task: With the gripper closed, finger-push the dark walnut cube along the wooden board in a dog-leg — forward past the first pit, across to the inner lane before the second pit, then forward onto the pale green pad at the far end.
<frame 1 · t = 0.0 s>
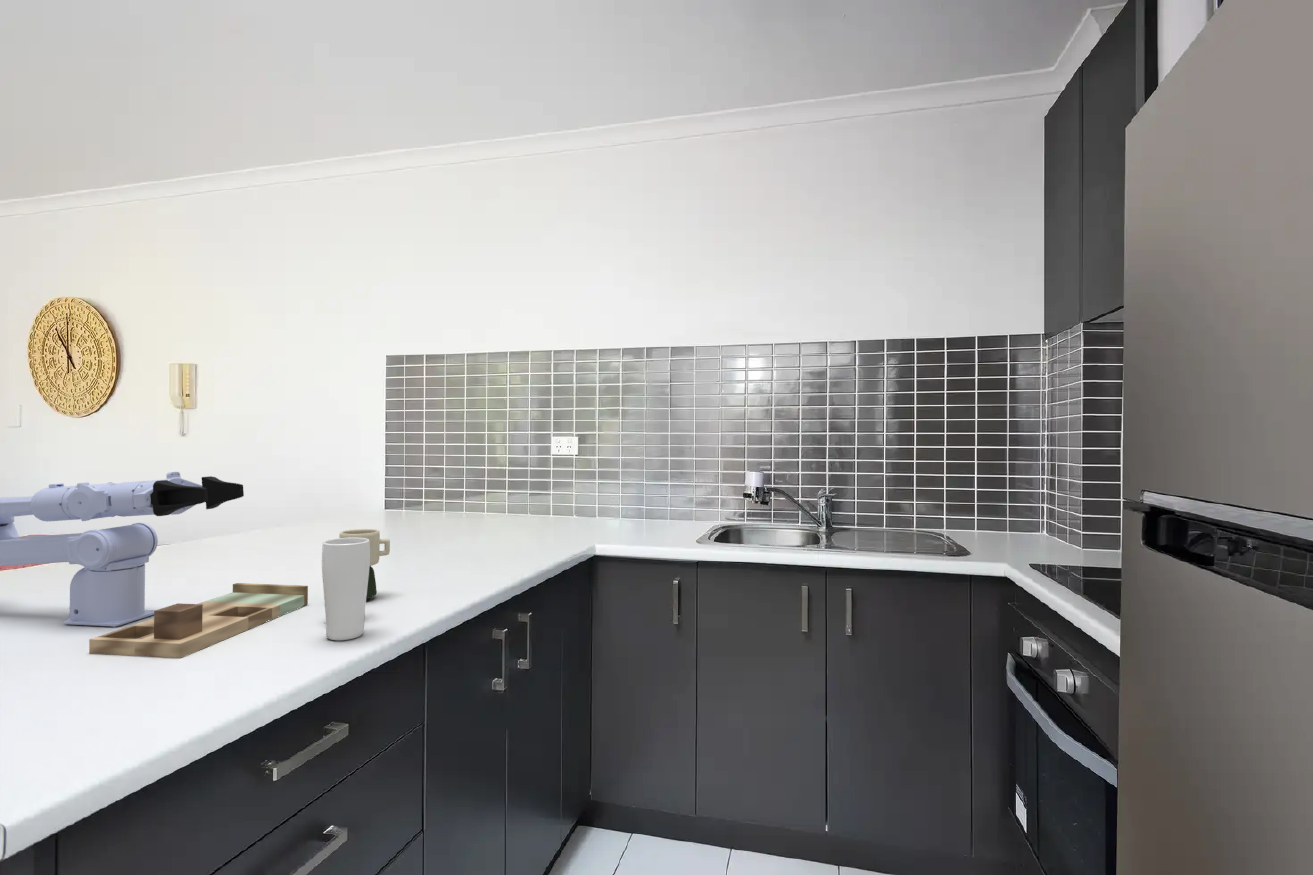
hand: (224, 492, 104), 22 cm above the countertop, tool horizontal, fingers open, 7 cm apart
drinking glass: (345, 637, 99), on the countertop
character mug: (358, 600, 121), on the countertop
wooden board: (212, 625, 104), on the countertop
block: (178, 634, 93), point 2 cm above the countertop, touching wooden board
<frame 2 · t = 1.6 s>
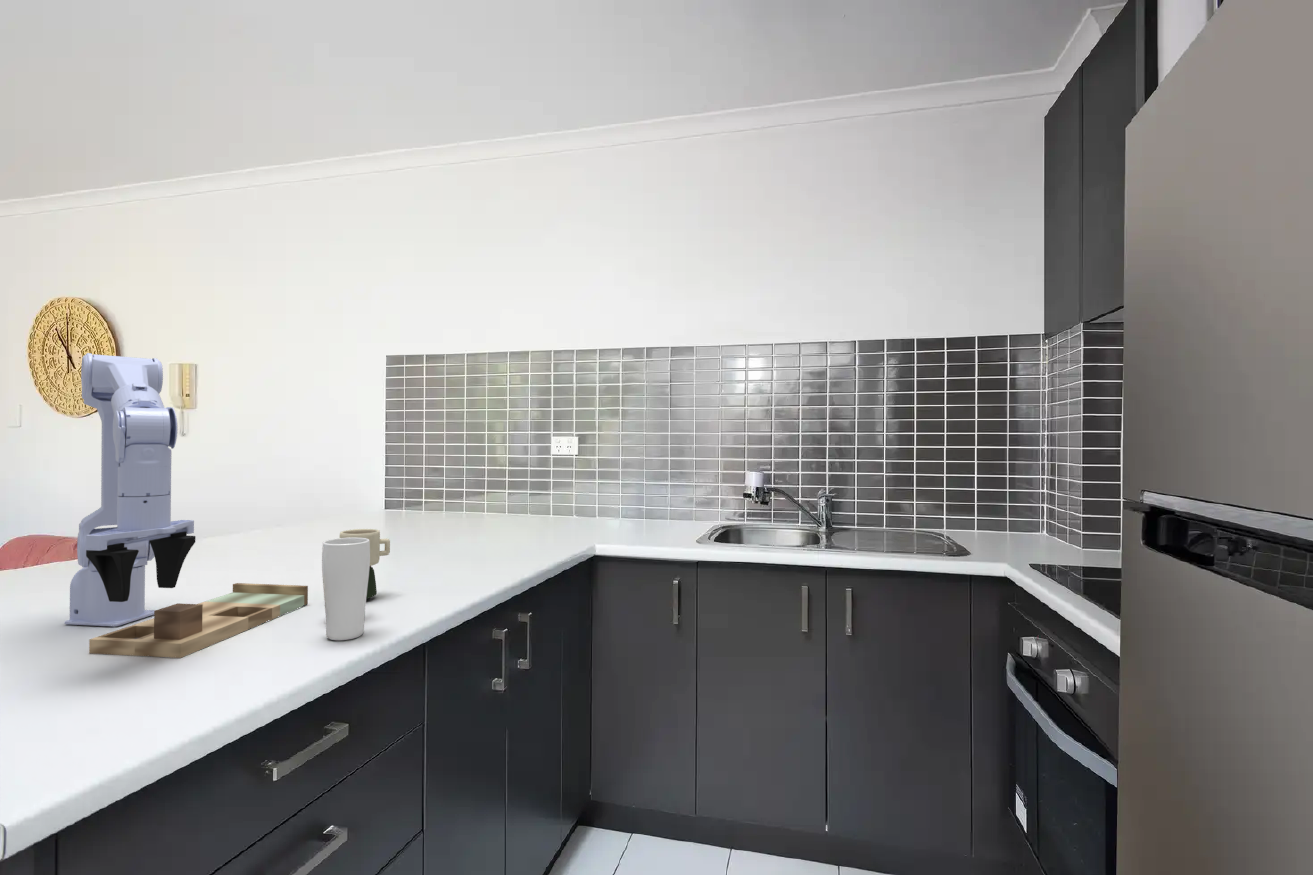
hand: (143, 594, 87), 9 cm above the countertop, tool pointing down, fingers open, 7 cm apart
nothing on the countertop moved.
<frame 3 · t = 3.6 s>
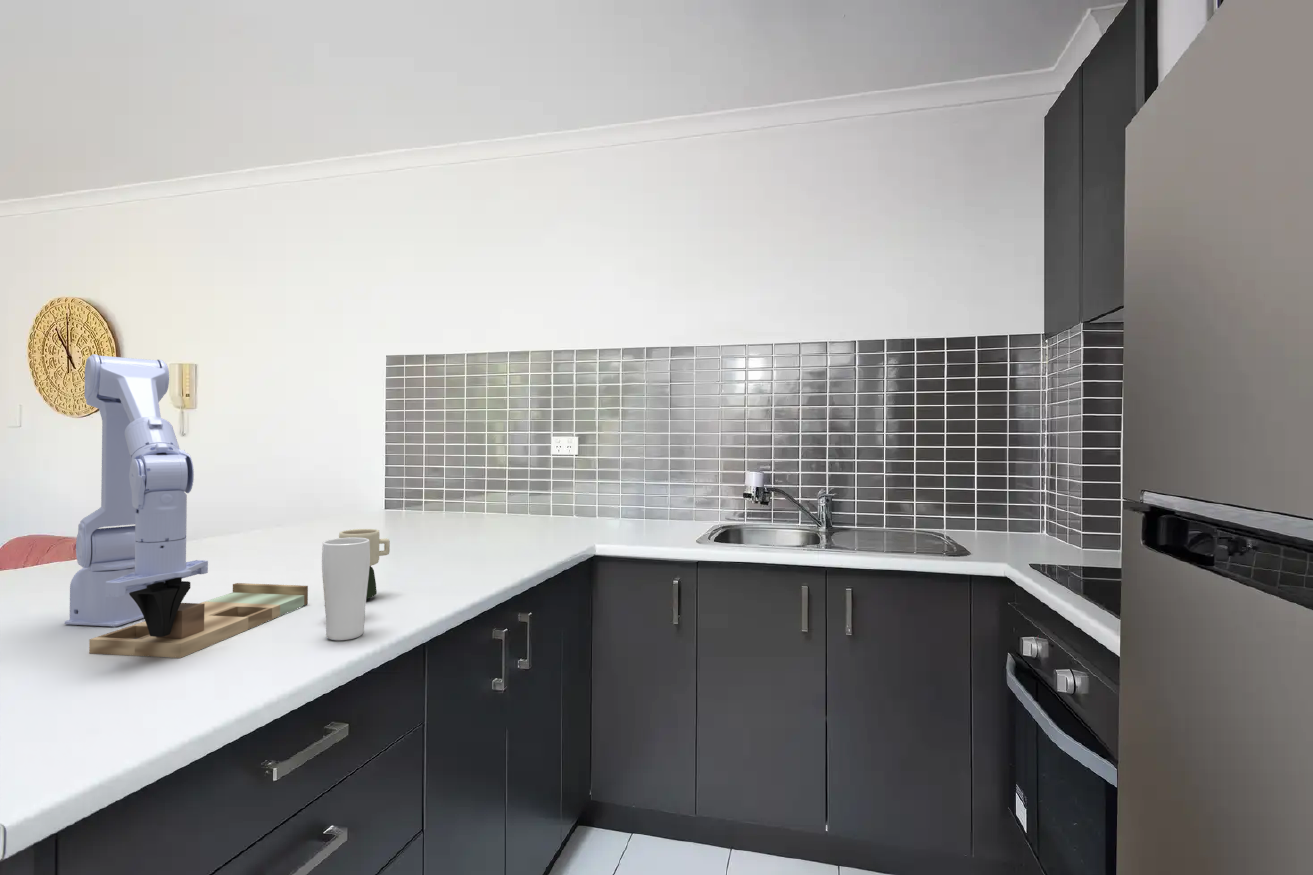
hand: (160, 635, 90), 3 cm above the countertop, tool pointing down, fingers closed
block: (180, 633, 93), point 2 cm above the countertop, touching gripper
everything else where it was.
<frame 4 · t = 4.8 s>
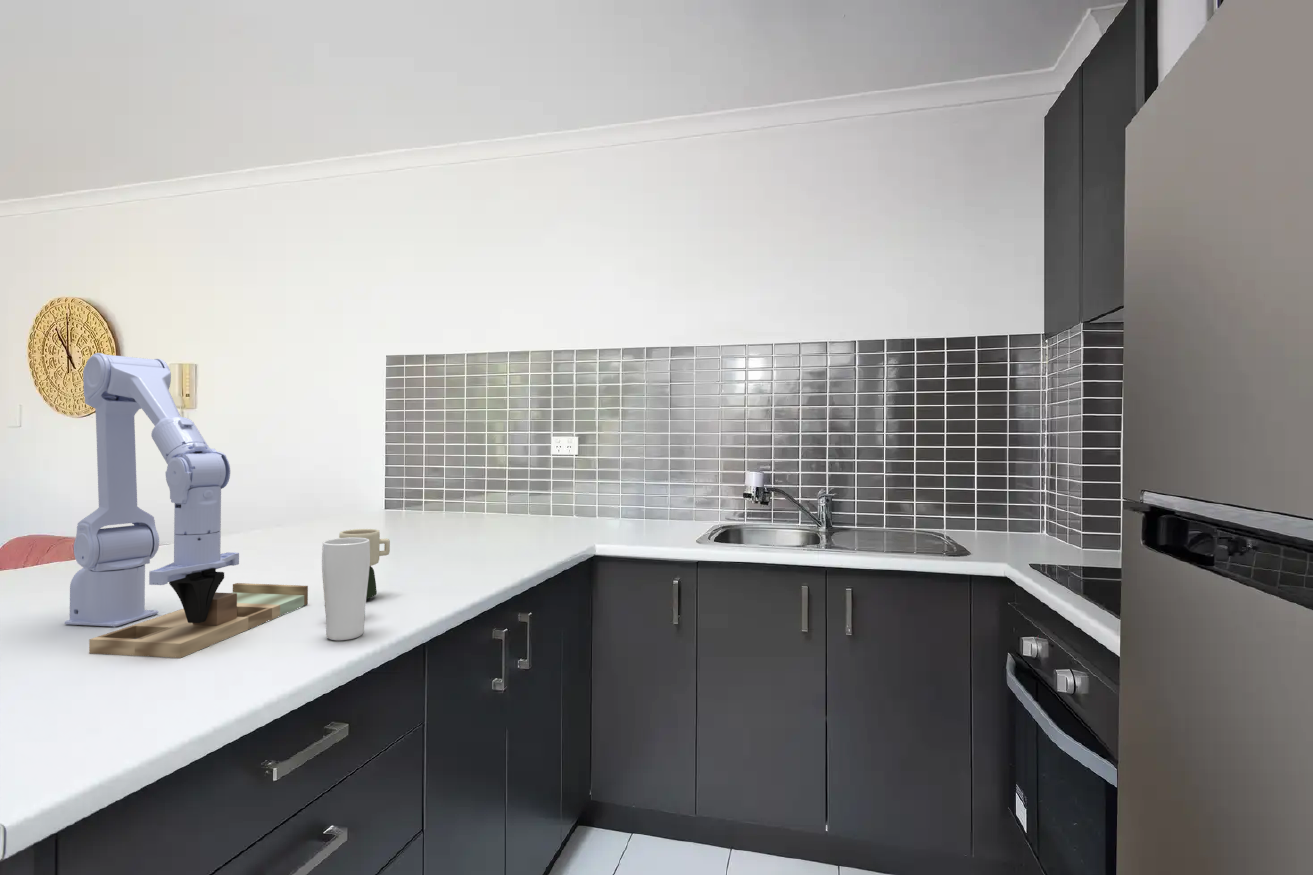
hand: (196, 621, 96), 3 cm above the countertop, tool pointing down, fingers closed
block: (215, 621, 99), point 2 cm above the countertop, touching wooden board, gripper
everything else where it was.
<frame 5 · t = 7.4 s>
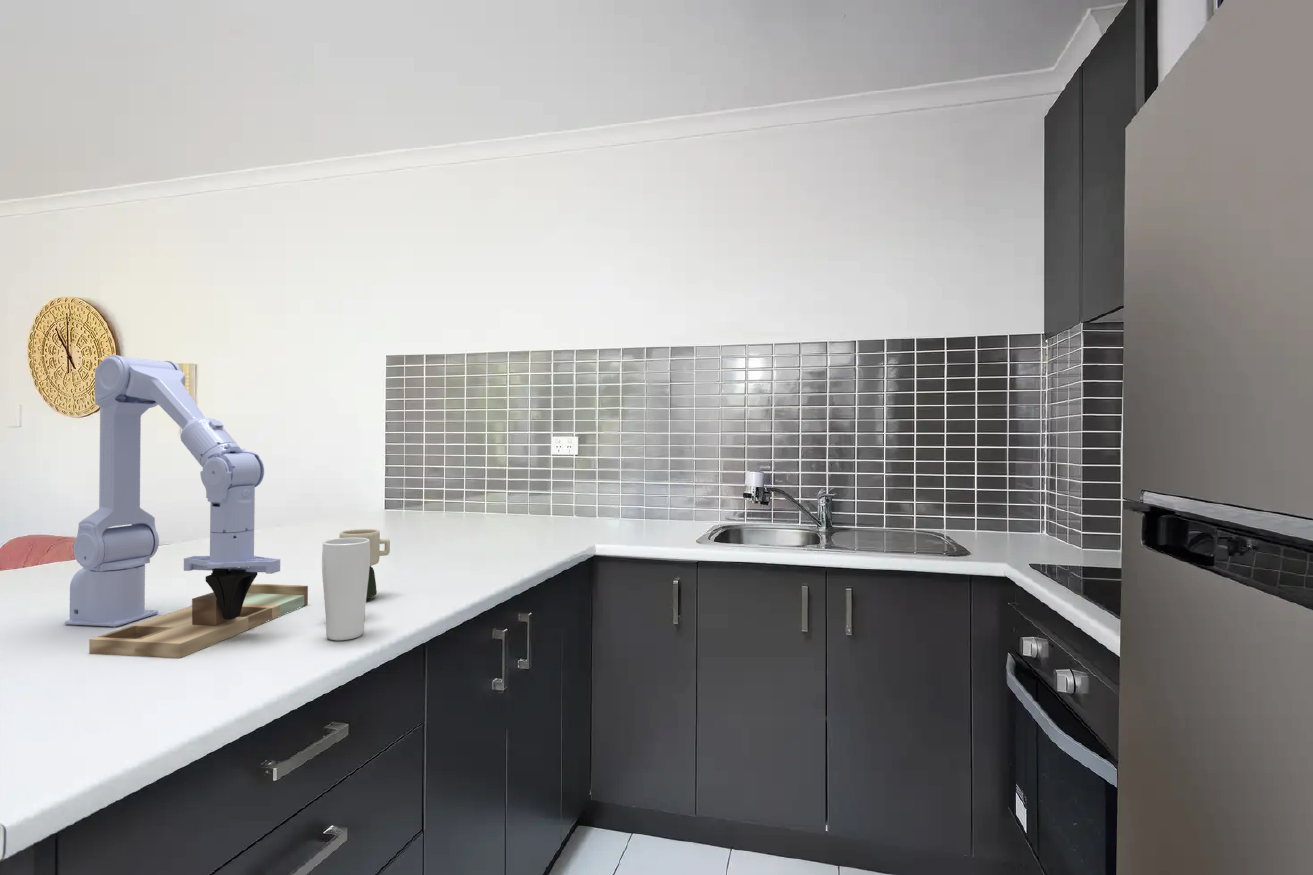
hand: (231, 617, 98), 3 cm above the countertop, tool pointing down, fingers closed
block: (214, 621, 99), point 2 cm above the countertop, touching gripper
everything else where it was.
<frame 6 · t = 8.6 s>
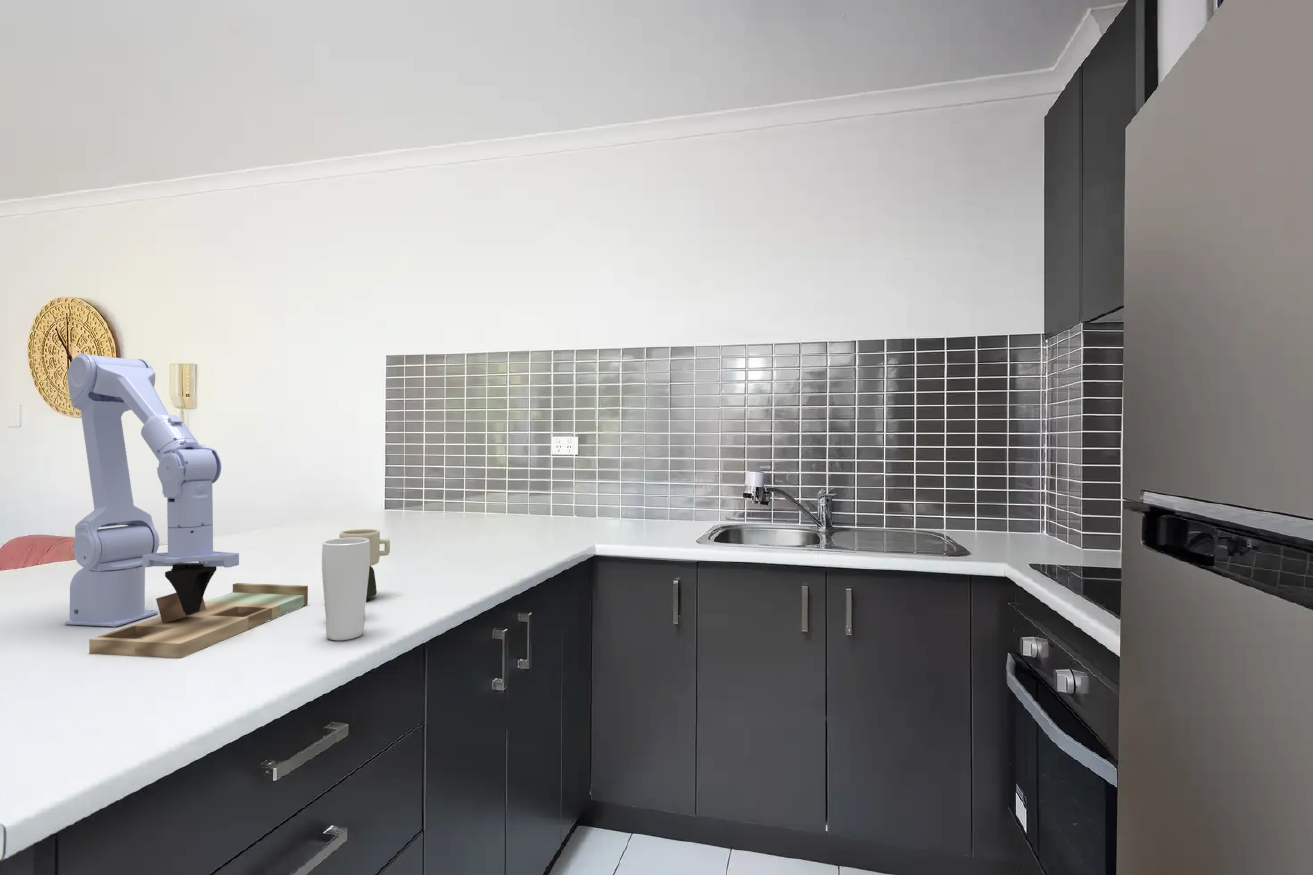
hand: (191, 612, 99), 3 cm above the countertop, tool pointing down, fingers closed, pressing on block
block: (184, 616, 100), point 3 cm above the countertop, tilted 17°, touching wooden board, gripper
everything else where it was.
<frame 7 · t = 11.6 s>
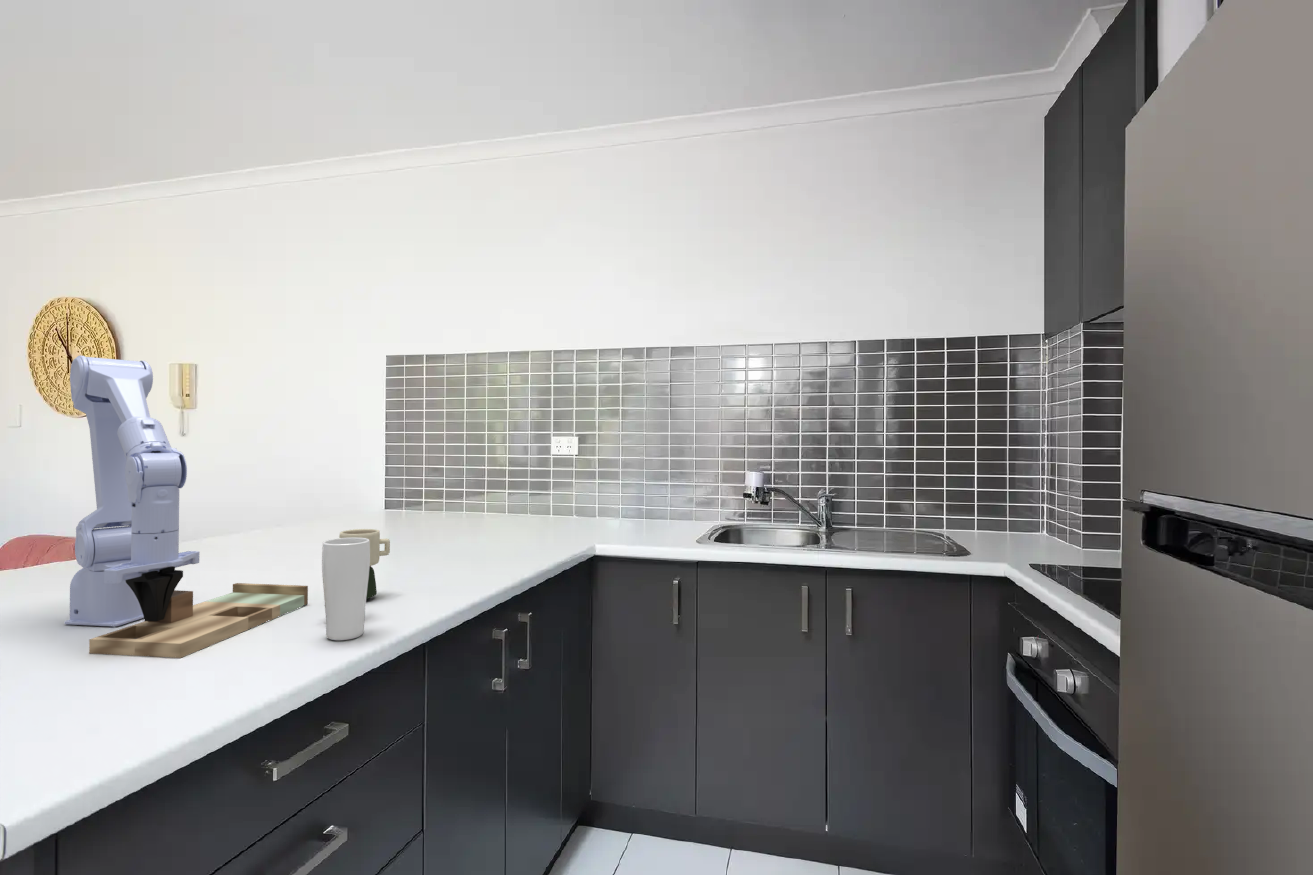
hand: (154, 620, 97), 3 cm above the countertop, tool pointing down, fingers closed
block: (170, 618, 100), point 2 cm above the countertop, touching wooden board, gripper
everything else where it was.
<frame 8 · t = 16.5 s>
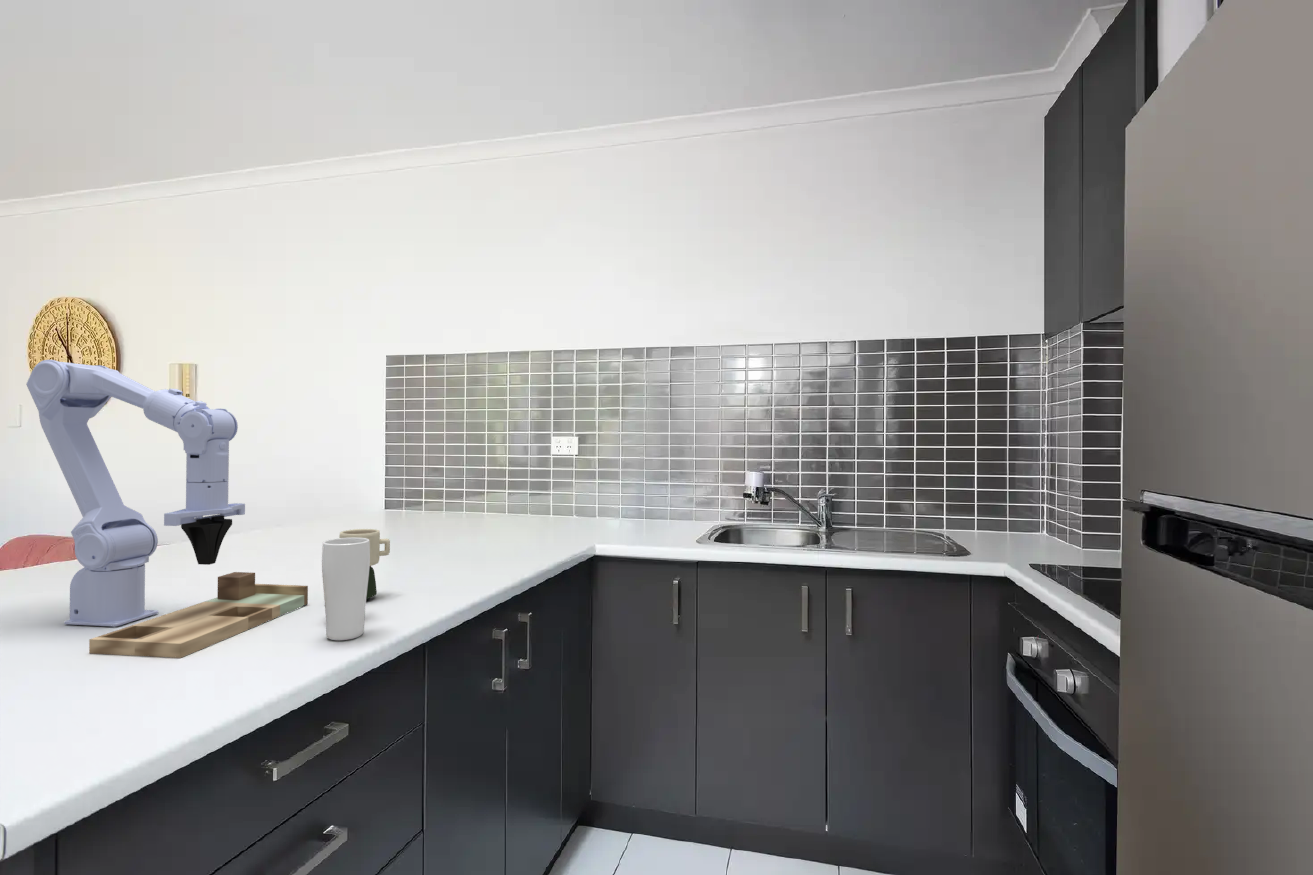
hand: (206, 563, 105), 10 cm above the countertop, tool pointing down, fingers closed
block: (236, 596, 114), point 2 cm above the countertop, touching wooden board
everything else where it was.
at the end: block inside the target area on the wooden board (4.0 cm from its centre), point 2.0 cm above the wooden board's base; block tilted 0° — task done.
